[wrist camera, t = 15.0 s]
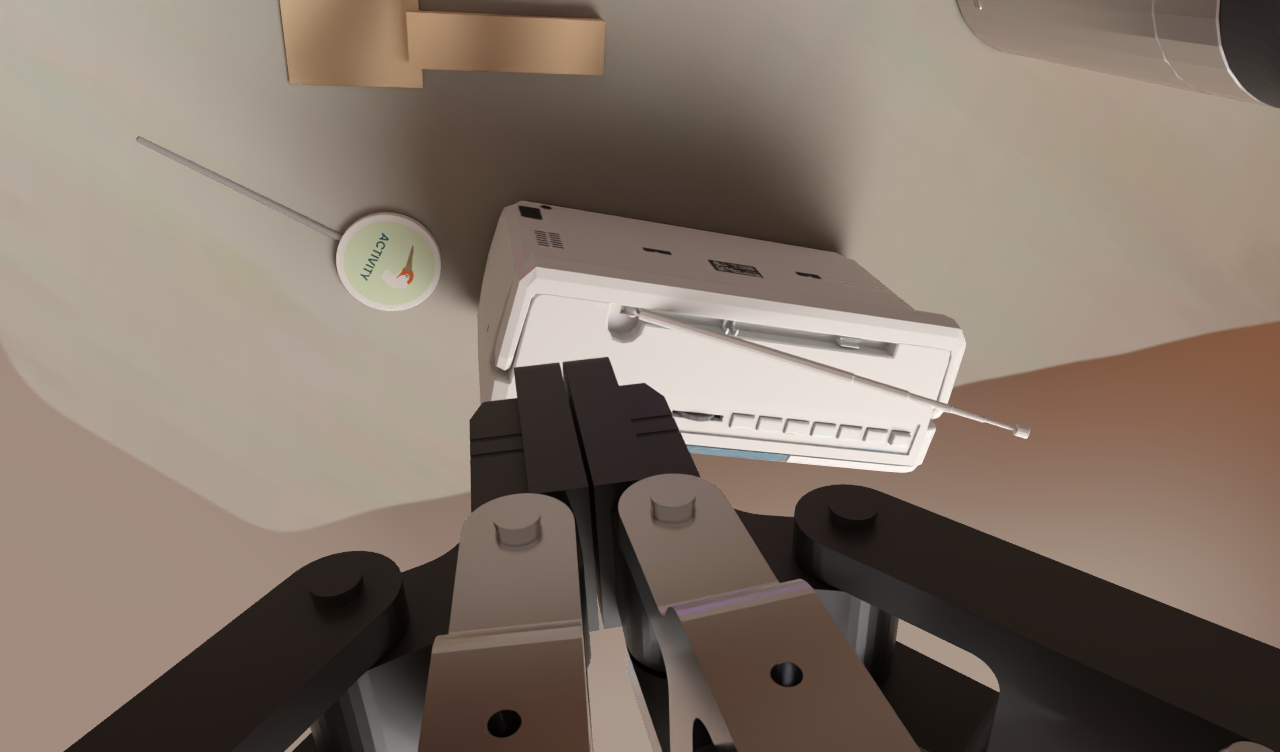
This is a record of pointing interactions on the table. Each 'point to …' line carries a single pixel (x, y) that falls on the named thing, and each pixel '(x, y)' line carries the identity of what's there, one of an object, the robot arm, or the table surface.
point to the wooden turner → (428, 43)
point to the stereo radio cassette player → (723, 336)
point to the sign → (365, 250)
